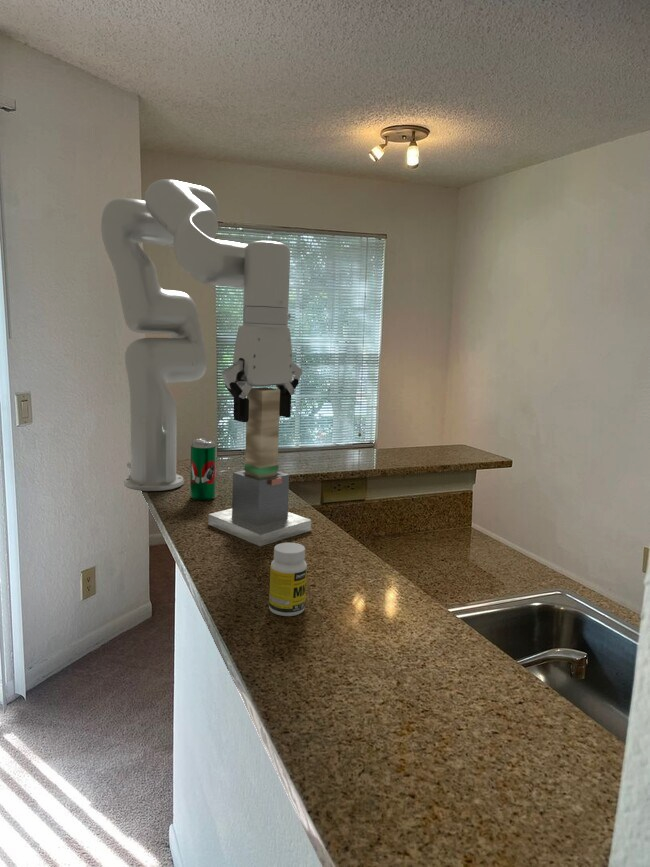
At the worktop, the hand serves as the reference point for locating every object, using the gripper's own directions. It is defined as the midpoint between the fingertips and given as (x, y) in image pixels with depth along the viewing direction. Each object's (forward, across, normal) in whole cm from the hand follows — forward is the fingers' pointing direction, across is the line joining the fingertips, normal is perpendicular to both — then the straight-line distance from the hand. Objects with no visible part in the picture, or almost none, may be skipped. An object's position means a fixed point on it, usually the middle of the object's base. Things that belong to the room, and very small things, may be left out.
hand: (262, 418), depth 108 cm
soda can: (+20, -3, -21) cm, 29 cm away
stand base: (+20, 0, 0) cm, 20 cm away
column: (+11, 0, 0) cm, 11 cm away
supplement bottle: (+20, +18, +26) cm, 37 cm away
